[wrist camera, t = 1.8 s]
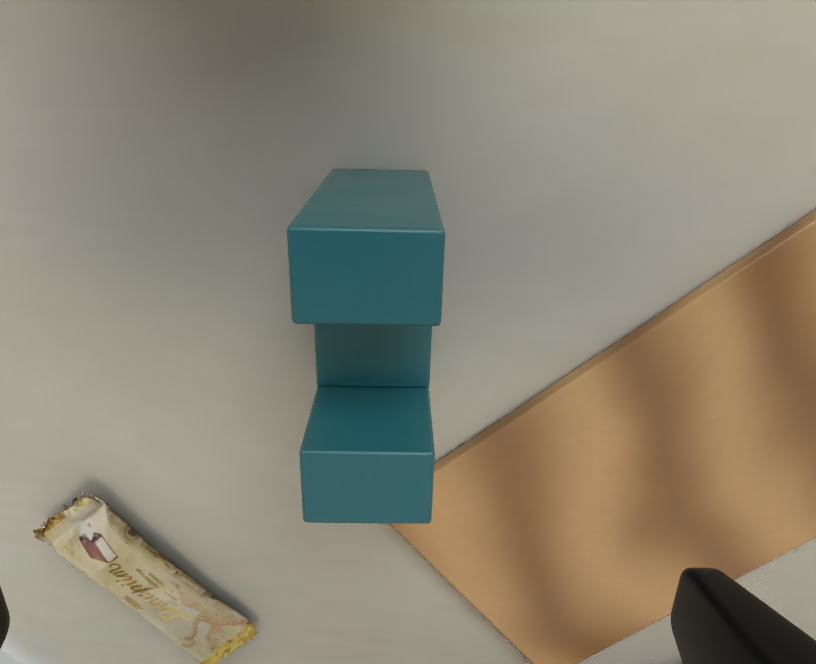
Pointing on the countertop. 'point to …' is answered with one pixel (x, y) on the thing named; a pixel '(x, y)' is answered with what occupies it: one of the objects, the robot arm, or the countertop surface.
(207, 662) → the snack bar
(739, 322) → the wooden board
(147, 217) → the countertop surface
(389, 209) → the letter H
